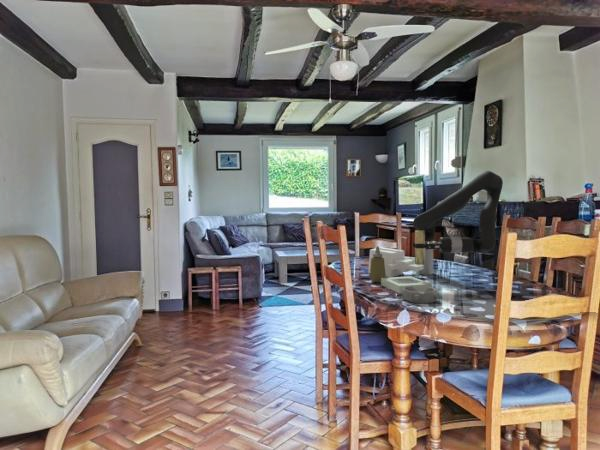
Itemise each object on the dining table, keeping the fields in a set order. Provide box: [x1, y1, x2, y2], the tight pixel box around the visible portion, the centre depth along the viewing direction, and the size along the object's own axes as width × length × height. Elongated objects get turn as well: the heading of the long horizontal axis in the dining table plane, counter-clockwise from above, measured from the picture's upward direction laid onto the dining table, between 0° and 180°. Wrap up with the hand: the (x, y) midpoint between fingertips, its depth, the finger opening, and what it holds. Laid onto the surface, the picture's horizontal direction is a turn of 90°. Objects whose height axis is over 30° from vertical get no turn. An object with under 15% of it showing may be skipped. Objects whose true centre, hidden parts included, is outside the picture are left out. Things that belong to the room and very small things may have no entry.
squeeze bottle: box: [369, 245, 386, 283], centre depth 217 cm, size 8×8×18 cm
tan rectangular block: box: [414, 229, 425, 265], centre depth 202 cm, size 4×4×16 cm
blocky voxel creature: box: [367, 246, 424, 278], centre depth 233 cm, size 15×25×28 cm
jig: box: [380, 276, 433, 295], centre depth 200 cm, size 20×16×4 cm
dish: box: [401, 286, 439, 304], centre depth 177 cm, size 14×14×5 cm
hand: (414, 245), depth 202 cm, fingers closed on tan rectangular block, 4 cm apart
